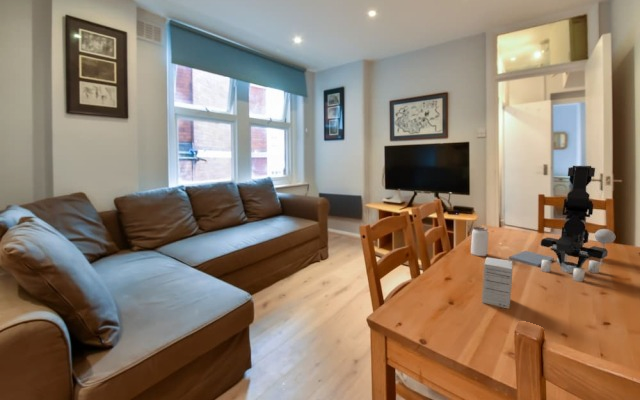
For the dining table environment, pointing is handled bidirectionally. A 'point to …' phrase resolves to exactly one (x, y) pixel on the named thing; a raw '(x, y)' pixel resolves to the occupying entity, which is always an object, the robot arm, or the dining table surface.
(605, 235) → the lollipop
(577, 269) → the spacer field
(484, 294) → the supplement box
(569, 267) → the grey faceted polyhedron
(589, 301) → the dining table surface
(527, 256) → the board
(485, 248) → the can
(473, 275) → the dining table surface
